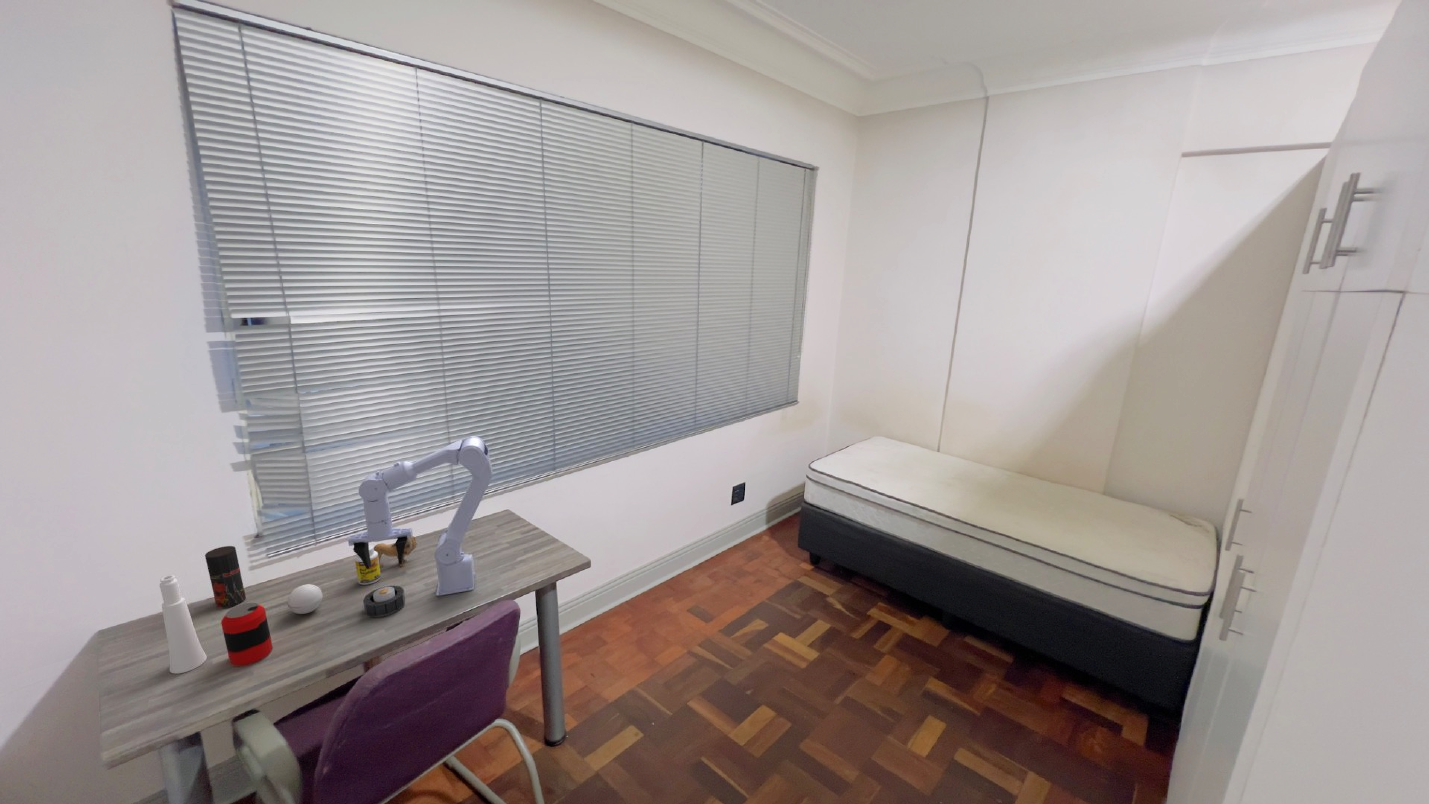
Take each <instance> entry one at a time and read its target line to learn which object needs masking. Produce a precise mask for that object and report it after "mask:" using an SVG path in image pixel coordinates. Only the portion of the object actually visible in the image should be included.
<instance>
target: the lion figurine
mask: <svg viewBox="0 0 1429 804" xmlns="http://www.w3.org/2000/svg"><path fill="white" fill-rule="evenodd" d="M417 545H418V543H417V538H416V537H415V536H413V535H412V537H411V538H408V539H407V542H406V545H405V549H404V554H403V562H402V564H399V566H400V568H403V567H405V566H406V564H405V563H407V561H408V560H407V559H405V556H406V557H407V556H409V555H410V554H411V552H413V551H414V550H416V548H417ZM373 547H374V551H376V552H377V553H378V558H379V566H380V568H384V566H385V565H384V563H383V564H382V563H381V558H382V555H385V556H387V557H390V558H394V557H396V558H397V559H398V553H397V548H396V545H395V543H393V544H386V543H379V544H376V545H374V546H373Z"/></svg>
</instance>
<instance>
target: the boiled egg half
mask: <svg viewBox="0 0 1429 804" xmlns="http://www.w3.org/2000/svg"><path fill="white" fill-rule="evenodd" d="M383 587H384V588H383ZM383 587H382V588H381V587H380V588H381V589H379V588H377V589H378V590H377V591H375V592H374V593H373V597H374V602H377V603H378V602H384V601H387V600H390V599H392V598H393V597H395V591H394V588H393V587H386V586H383Z"/></svg>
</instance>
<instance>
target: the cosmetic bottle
mask: <svg viewBox="0 0 1429 804" xmlns="http://www.w3.org/2000/svg"><path fill="white" fill-rule="evenodd" d="M159 588H160V593H161V596H162V600H163V603H162V604H161V610H162V616H163V622H164V626H165V627H164V628H165V632H166V633H165V634H166V639H167V645H168V652H169V653H168V654H169V672H170V673H171V674H176V675H177V674H184V673H186V672H190V671H193V670H194V669H197V668H198V667H200V666H201V665H203V664H204V663H206V661H207V659H208V656H207V654H206V653H205V651H204V649H203V647H202V645H201V643H200V640H199V638H198V635H197V632H196V629H195V626H194V624H193V620H192V617H191V613H190V610H189V607H188V605H187V602H186V599H185V597H182V594H181V593H182V592H181V589H180V586H179V581H178V579H177V578H176V576H175V575H174V574H169V575H166V576H162V578H160V583H159Z"/></svg>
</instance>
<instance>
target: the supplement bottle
mask: <svg viewBox="0 0 1429 804" xmlns="http://www.w3.org/2000/svg"><path fill="white" fill-rule="evenodd" d="M374 547H375V546H374V545H372V544H371V545H370V544H369V555H370V560H371V566H370V568H369V569H366V567H365V565H364V563H363V561H362V560H361V558H360V557H359V556H358V555H357V554H356V556H355V557H354V562H355V568H356V574H357V575H356V577H357V582H358V583H359V584H360V585H364V586H365V585H371V584H374V583H376V582H377V581H379V580H380V578H381V577H382V575H381V569H380V566H379V558H378V553H377V552H376V551H374Z"/></svg>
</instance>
